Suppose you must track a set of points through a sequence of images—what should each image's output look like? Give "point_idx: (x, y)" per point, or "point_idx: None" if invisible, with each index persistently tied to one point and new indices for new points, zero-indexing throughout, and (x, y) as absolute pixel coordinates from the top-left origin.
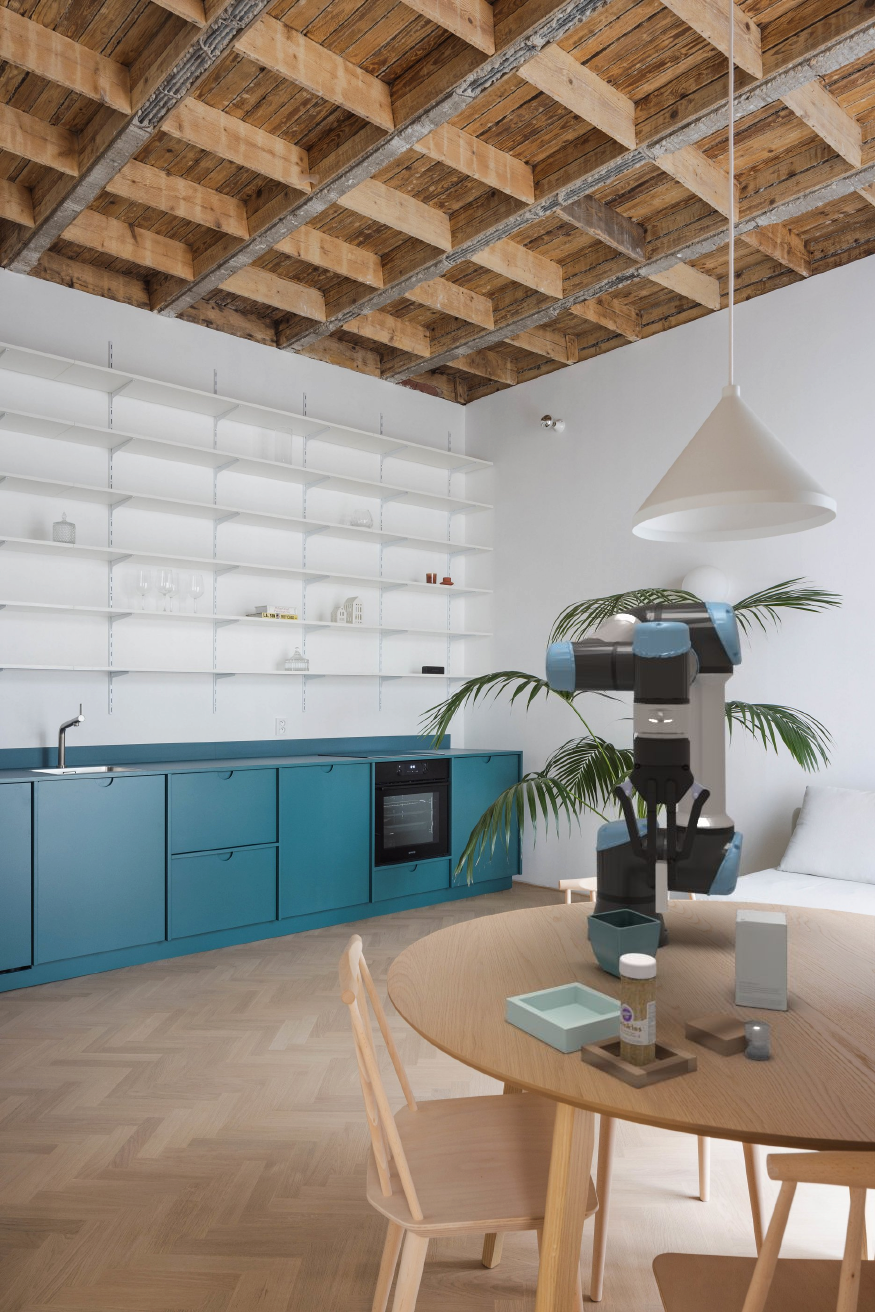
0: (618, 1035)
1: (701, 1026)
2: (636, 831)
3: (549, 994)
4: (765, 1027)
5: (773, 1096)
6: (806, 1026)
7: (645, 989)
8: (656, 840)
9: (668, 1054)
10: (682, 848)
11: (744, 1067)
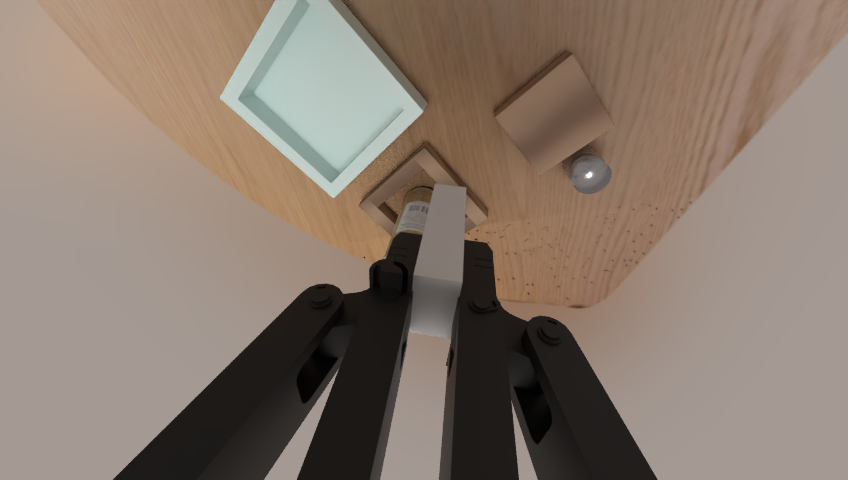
0: (397, 172)
1: (516, 131)
2: (278, 450)
3: (270, 48)
4: (600, 185)
5: (553, 250)
6: (748, 6)
7: None
8: (394, 389)
9: None
10: (516, 410)
11: (548, 192)
